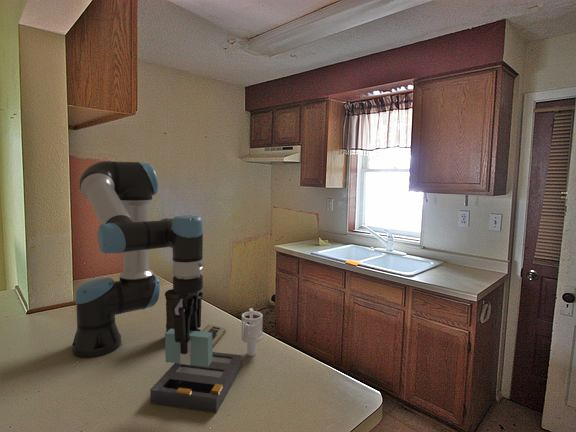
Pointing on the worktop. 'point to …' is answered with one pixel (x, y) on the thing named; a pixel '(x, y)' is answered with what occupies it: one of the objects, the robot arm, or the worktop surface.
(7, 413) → the worktop surface
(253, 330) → the white ringed cylinder
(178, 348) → the panel
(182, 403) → the rack
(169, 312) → the container
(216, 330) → the computer
